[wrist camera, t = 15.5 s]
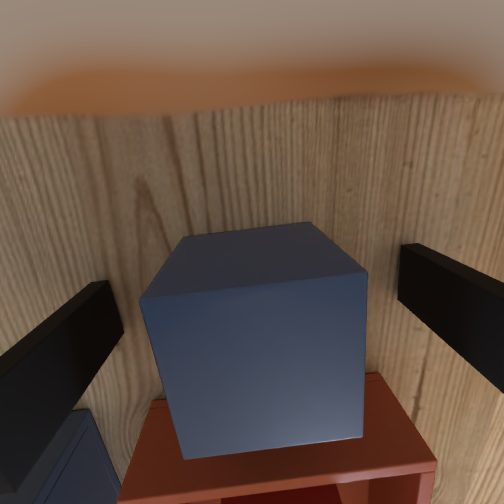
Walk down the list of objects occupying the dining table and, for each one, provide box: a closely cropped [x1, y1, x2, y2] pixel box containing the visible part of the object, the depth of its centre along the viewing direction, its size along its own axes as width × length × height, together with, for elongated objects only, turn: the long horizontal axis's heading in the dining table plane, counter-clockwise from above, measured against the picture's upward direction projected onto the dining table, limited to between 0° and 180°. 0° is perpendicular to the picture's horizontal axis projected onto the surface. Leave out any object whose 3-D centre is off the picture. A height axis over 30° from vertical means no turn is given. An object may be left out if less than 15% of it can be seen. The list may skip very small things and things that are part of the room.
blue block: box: [139, 222, 368, 460], centre depth 10 cm, size 6×6×6 cm
